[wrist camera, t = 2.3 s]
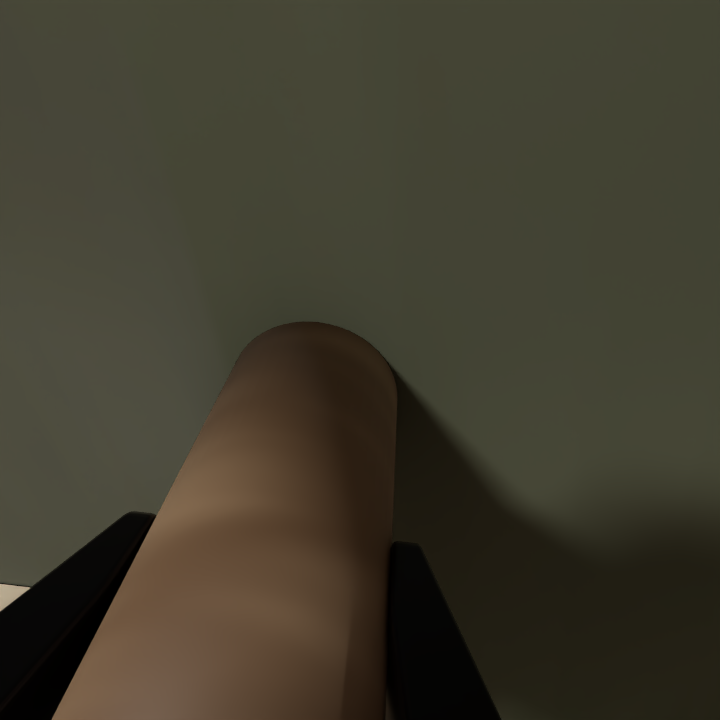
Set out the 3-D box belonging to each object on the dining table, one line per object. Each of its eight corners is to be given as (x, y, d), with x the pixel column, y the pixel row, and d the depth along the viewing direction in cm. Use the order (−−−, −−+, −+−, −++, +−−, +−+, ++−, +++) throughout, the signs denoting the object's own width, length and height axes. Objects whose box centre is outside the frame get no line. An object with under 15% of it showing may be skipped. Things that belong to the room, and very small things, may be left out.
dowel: (406, 331, 11) (391, 1386, 2) (388, 467, 13) (344, 1331, 4) (227, 313, 11) (-376, 1266, 3) (235, 450, 13) (-99, 1265, 4)
